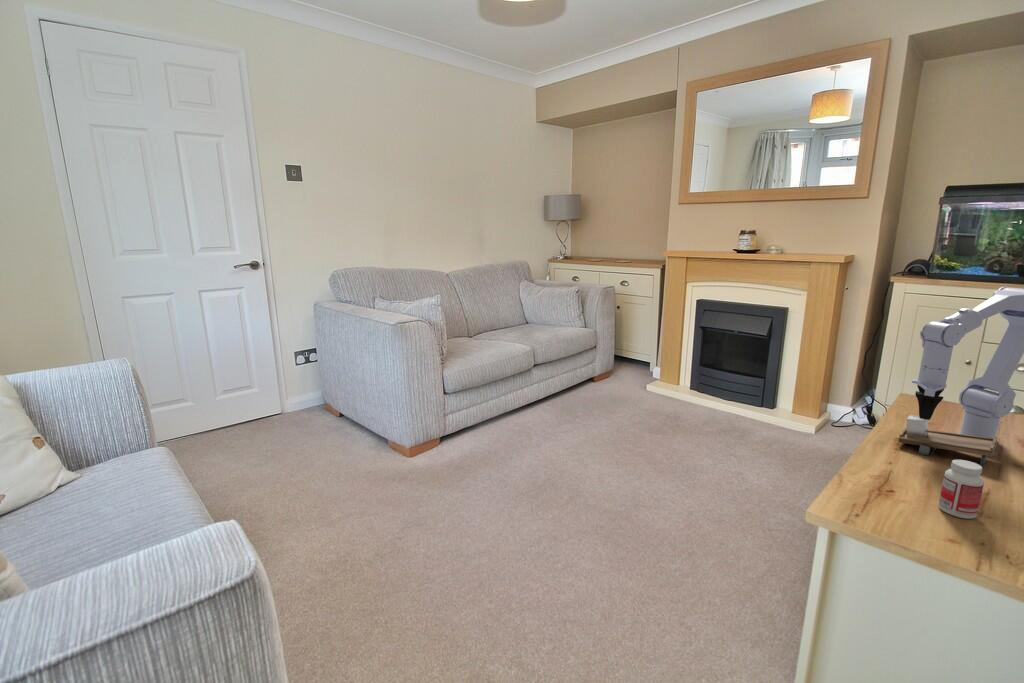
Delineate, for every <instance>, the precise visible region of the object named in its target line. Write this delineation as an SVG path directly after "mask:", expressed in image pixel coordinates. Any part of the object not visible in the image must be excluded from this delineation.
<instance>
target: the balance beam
mask: <svg viewBox="0 0 1024 683" xmlns="http://www.w3.org/2000/svg"><path fill="white" fill-rule="evenodd" d="M997 440H998V437H997V436H996V437H994V438H987V437H979V436H971V435H964V434H959V433H957V432H956V433H953V432H948V431H941V430H932V429H928V436H927V437H926V438H925V439H924V438H917V437H910V436H907V426H905V427H904V428H903V430H902V431H901V432H900V433H899V436H898V443H901V444H902V443H906V444H909V445H913V446H915V445H916V446H920V444H924V445H928V446H931V447H933V448H936V449H940V450H946V451H952V452H960V453H967V454H974V455H980V456H982V455H986V457H993V456H994V453H995V451H996V448H997V446H998V442H997Z"/></svg>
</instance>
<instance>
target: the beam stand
mask: <svg viewBox="0 0 1024 683" xmlns="http://www.w3.org/2000/svg"><path fill="white" fill-rule="evenodd" d="M906 444H907V443H901V445H902V446H906ZM936 450H937V448H933V447H931V446H928V445H924V444H920V445H919V448H918V449H917V451H916V452H915V454H917V455H920V456H924V457H927V458H931V457H932V456H933V454H934V453H935V451H936ZM986 459H987V456H986V455H981V458H980V462H979V465H980V466H981V467H984V465H985V462H986Z"/></svg>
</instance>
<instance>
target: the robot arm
mask: <svg viewBox="0 0 1024 683" xmlns="http://www.w3.org/2000/svg"><path fill="white" fill-rule="evenodd" d="M998 314H999V315H1000V316H1001V317H1002V318H1003V319H1005V320H1007V323H1008V326H1007V328H1006V330H1005V332H1004V334H1003V336H1002V338H1001V340H1000V342H999V343H998V345H997V347H996V349H995V351H994V354H993V356H992V357H991V359H990V361H989V363H988V365H987V367H986V369H985V371H984V372H983V374H982V376H979V377H977V378H974V379H970V380H968V383H967V385H966V386H965V387H964V388H963V389H961V391H960V392H959V395H958V400H959V401H958V402H959V404H960V405H961V406H962V410H964V415H963V418H962V419H963V420H962V423H961V427H960V432H959V433H958V434H964V435H971V436H979V437H987V438H994V437H997V433H998V430H999V425H1000V420H1001V418H1004V417H1006V416H1007V415H1009V414H1010V413H1011V411H1012V410H1013V408H1014V401H1015V398H1016V396H1017V393H1016V392H1015V391H1014V390H1013V388H1012V387H1011V386H1010V385H1009V382H1010V380H1011V379H1012V377H1013V375H1014V372H1015V371H1016V369H1017V367H1018V365H1019V364H1020V361H1021V360H1022V357H1023V356H1024V288H1019V287H1017V288H1016V287H1010V286H1001V287H999V288H998V289H997V290H994V291H993V292H992V294H991V297H990V298H988V299H987V300H984V301H983V302H981V303H980V304H979V305H977V306H975V307H974V308H960V309H958V310H957V312H955V313H953V314H951V315H949V316H946V317H945V318H943V319H941V320H939V321H937V320H936V321H934V320H933V321H930V322H928V323H926V324H924V326H923V328H922V329H921V330H920V331H919V332H920V335H919V336H920V339H921V346H922V348H923V351H922V356H921V362H920V367H919V372H918V373H919V374H918V377H917V378H918V379H916V378H913V379H912V380H911V383H912V384H916V386H917V389H918V391H917V390H916V391H915V395H914V396H915V397H916V400H917V402H918V416H919V417H920V418H921V419H926V420H928V421H930V420H931V418H932V417H933V415H934V413H935V410H936V409H937V406H938V405H939V404H940V403H941V402H942V401H943V400H944V396H941V394H942V393H943V392H944V390H945V389H946V388H947V386H948V385H947V380H948V375H949V370H950V364H951V360H952V354H953V351H954V347H955V346H957V345H959V343H960V342H961V340H962V339H963V338H964V337H965V336H966V334H969V333H970V332H972V331H974V330H976V329H978V328H980V327H981V326H982V324H983V321H984V320H987V319H988V318H990V317H991V318H992V317H993V316H995V315H998ZM998 441H999V440H998V439H997V443H998Z"/></svg>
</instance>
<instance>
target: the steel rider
mask: <svg viewBox="0 0 1024 683" xmlns="http://www.w3.org/2000/svg"><path fill="white" fill-rule="evenodd" d="M906 427H907V436H910V437H917V438H924V439H925V438H926V437H927V436H928V430H929V420H926V419H921V418H920V417H919V415H908V417H907V418H906Z"/></svg>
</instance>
